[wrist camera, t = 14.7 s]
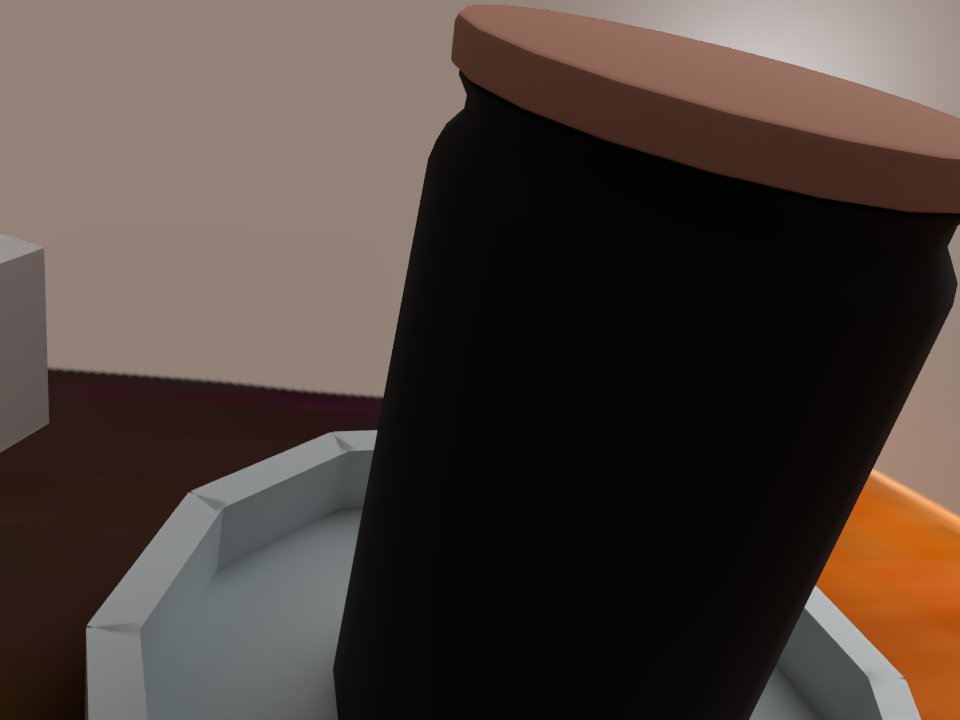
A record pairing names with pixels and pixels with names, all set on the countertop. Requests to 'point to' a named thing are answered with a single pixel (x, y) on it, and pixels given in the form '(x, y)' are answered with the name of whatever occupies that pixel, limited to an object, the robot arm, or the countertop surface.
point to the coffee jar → (636, 372)
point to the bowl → (320, 605)
